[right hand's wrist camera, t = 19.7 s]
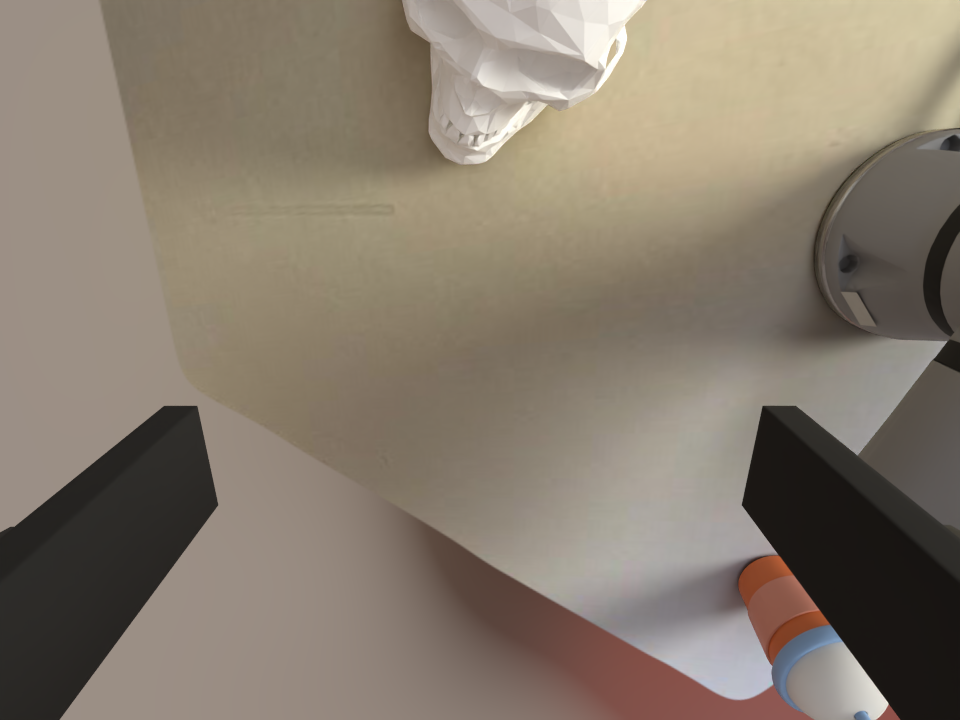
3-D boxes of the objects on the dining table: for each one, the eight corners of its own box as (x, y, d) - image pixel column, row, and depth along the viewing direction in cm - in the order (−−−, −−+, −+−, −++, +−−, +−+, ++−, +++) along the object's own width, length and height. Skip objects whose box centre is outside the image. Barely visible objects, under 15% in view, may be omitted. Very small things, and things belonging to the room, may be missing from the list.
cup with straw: (707, 603, 54) (808, 806, 37) (748, 532, 51) (879, 719, 34) (788, 622, 55) (923, 829, 38) (833, 554, 52) (1002, 746, 35)
